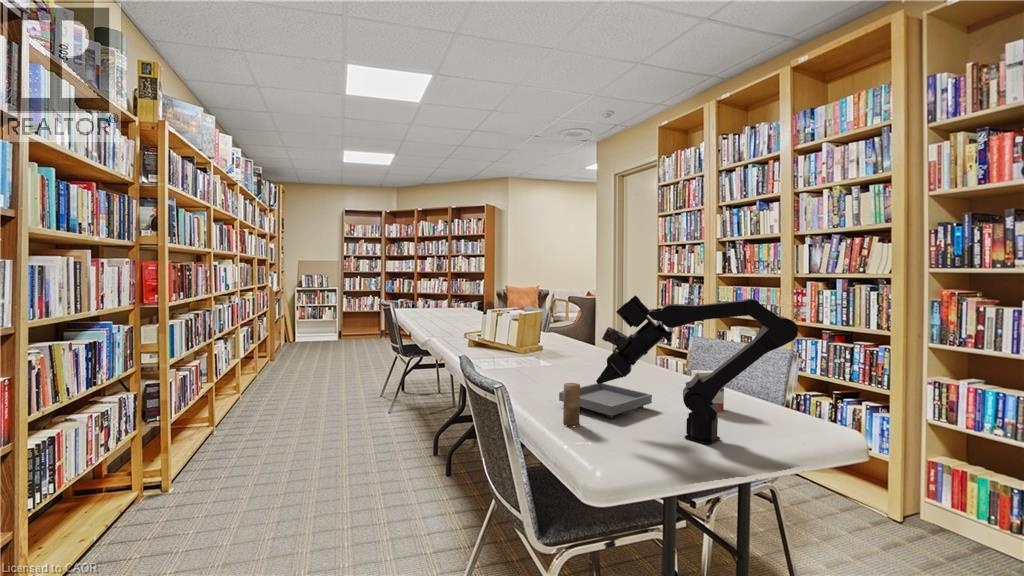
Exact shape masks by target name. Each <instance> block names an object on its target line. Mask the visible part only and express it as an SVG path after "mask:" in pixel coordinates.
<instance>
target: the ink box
mask: <svg viewBox="0 0 1024 576" xmlns="http://www.w3.org/2000/svg"><path fill="white" fill-rule="evenodd" d="M713 371H714V370H706V369H705V370H700V369H699V370H697V369H695V370H693V369H692V370H691V377H690V378H691V379H690V381H691V380H692V379H693V378H694V377H695V376H696V375H697V374H699V376H700V377H701V378H702V377H705V376H708V375H709V374H711V373H712V372H713ZM724 400H725V386H723V387H722V388H721V389H720V390H719V392H718V393H717V395H716V396H715V398H714V399H713V400H712V402H713V403H714V406H715V409H716V411H719V412H720V411H722V412H724V406H725V405H724V404H725V403H724V402H725V401H724ZM722 412H721V413H722Z"/></svg>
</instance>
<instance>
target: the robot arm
mask: <svg viewBox="0 0 1024 576" xmlns="http://www.w3.org/2000/svg"><path fill="white" fill-rule="evenodd" d="M615 313H616V314H617V315H618V316H619V317H620V318H621V320H623V321H624V322H625V323H626V325H628V326H629V327H630V328H632V327H634V328H636V329H637V328H638V327H640V326H641V325H642V324H643V325H642V326H641V327H640V328H638V329H637V330H636V331H635V332H634V333H631V334H630V335H629V336H628V335H626V334H624V333H622V332H621V331H620V330H617V329H615V328H613V327H610V326H608V327H607V328H606V330H605V332H604V334H603V335H602V338H601V340H603V342H606V343H607V342H608V343H610V344H612V345H613V346H615V348H614V349H613V351H612V353H611V354H610V355H608V357H607V358H606V367H605V368H604V370H602V372H601V373H600V375H599V376H598V377H597V379H596V380H595V382H596V383H598V384H601V383H604V384H605V383H607V382H611V381H614V380H618V379H621V378H626V377H627V376H628V375H629V374H630V373H631V372H632V368H633V367H632V366H635V365H636V363H637V362H638V361H639V360H640V359H641V358H643V356H646V355H647V354H648V353H649V351H650V350H652V349H653V347H655V346H656V345H657V344H658V343H659V342H661V341H662V340H663V339H665V340H666V341H667V343H672V334H673V331H672V330H667V329H666V328H670V329H675V328H679V327H683V326H686V325H690V324H692V323H694V322H699V321H705V320H707V321H708V320H716V319H725V318H735V317H744V316H748V317H749V316H750V317H751V318H753V319H754V320H755V321H756V322H758V323H759V324H760V325H761V326H762V327H760V329H759V331H758V332H757V334H756V335H755V337H754V338H752V340H751V341H750V342H749V343H747V344H746V345H745V346H743V347H742V348H741V349H740V350H738V351H737V352H736V353H735V354H733V355H732V356H731V357H730V358H728V359H726V361H725V362H724V363H723V362H722V364H721V365H720V366H718V367H717V368H716V369H714V370H712V371H713V372H712V373H711V374H709V375H708V376H705V377H702V378H701V377H700V376H699V374H697V375H696V376H695V377H694V378H693V379H692V380H691V379H690V380H689V381H687V382H685V386H684V388H683V389H682V399H683V404H684V406H685V407H686V408H687V410H690V412H688V415H687V416H688V417H687V418H686V425H685V426H686V431H685V433H686V435H684V439H687V440H690V441H694V442H696V443H699V444H703V445H707V446H709V445H710V446H711V444H713V443H715V442H718V441H721V437H720V436H718V425H719V424H718V423H719V422H718V420H719V419H718V418H719V416H718V412H717V411H716V409H715V406H714V403H713V402H712V400H713V399H714V398H715V396H716V395H717V393H718V392H719V390H720V389H721V388H722V387H723V386H724V387H725V386H726V385H727V384H728V383H730V382H731V381H732V380H733V379H735V378H737V377H738V376H739V375H740V374H741V373H743V372H744V371H745V370H747V369H748V368H749V367H751V366H752V365H753V364H754V363H755V362H757V361H758V360H759V359H761V358H762V357H764V355H766V354H767V353H769V352H772V351H774V350H777V349H779V348H782V347H785V345H787V344H789V343H791V342H793V341H794V340H795V339H797V338H798V335H799V329H798V326H797V324H796V322H795V321H794V320H792V319H790V318H788V317H785V316H783V315H782V316H781V315H777V314H775V313H774V312H772V311H771V310H770V309H768V308H767V307H765V306H764V305H762V304H761V303H760V302H759V301H758V300H756V299H753V298H745V299H741V300H740V299H739V300H734V301H733V300H731V301H723V302H716V303H715V302H713V303H706V304H686V303H683V304H682V303H668V304H665V305H664V306H662V308H661V307H660V308H652V309H649V308H648V306H646V305H645V304H644V303H643V302H642V301H641V299H640V298H639V297H638V296H637V294H636V295H634V296H633V297H631V299H629V300H628V301H627V302H625V303H624V304H623V305H621V306H620V307H619V309H617V310H616V311H615ZM646 320H647V321H646ZM645 321H646V323H645V324H644V322H645ZM655 321H658V322H659V323H657V324H656V322H655ZM660 322H661V323H660ZM664 326H665V327H666V328H665V327H664Z"/></svg>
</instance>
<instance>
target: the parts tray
mask: <svg viewBox="0 0 1024 576" xmlns="http://www.w3.org/2000/svg"><path fill="white" fill-rule="evenodd" d="M652 399H653V394H650V393H646V392H642V391H638V390H634V389H633V390H632V389H630V388H625V387H621V386H618V385H612V384H607V383H605V382H604V383H601V384H598V383H597V382H596V383H592V384H588V385H584V386H580V408H583V409H587V410H590V411H593V412H597V413H599V414H600V413H601V414H603V415H606V418H607V419H610V420H611V419H613V418H614V416H616V415H619V414H623V413H624V412H628V411H631V410H634V409H638V410H641V409H643V408H644V406H647V405H650V404H653V400H652ZM558 400H559V402H562V403H564V390H563V391H559V393H558Z"/></svg>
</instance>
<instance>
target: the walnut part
mask: <svg viewBox="0 0 1024 576" xmlns="http://www.w3.org/2000/svg"><path fill="white" fill-rule="evenodd" d="M580 387H581V384H580V383H576V382H566V383H564V384H563V391H564V402H563V409H562V410H563V417H562V419H563V421H562V422H563V423H562V424H564V425H563V426H565V425H567V426H566V427H568V426H577V427H579V426H580V412H581V411H580V409H581V407H580ZM578 425H579V426H578Z"/></svg>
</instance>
